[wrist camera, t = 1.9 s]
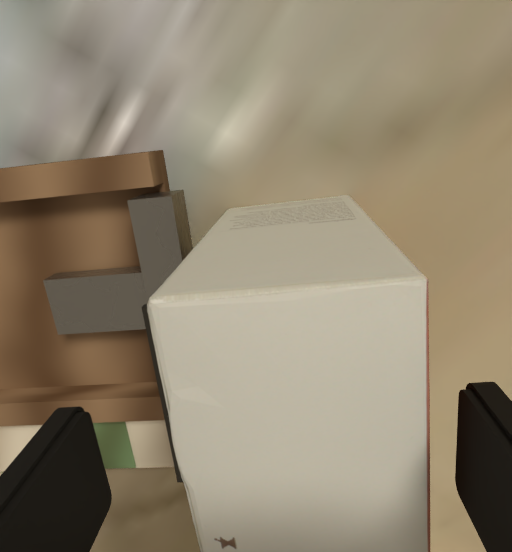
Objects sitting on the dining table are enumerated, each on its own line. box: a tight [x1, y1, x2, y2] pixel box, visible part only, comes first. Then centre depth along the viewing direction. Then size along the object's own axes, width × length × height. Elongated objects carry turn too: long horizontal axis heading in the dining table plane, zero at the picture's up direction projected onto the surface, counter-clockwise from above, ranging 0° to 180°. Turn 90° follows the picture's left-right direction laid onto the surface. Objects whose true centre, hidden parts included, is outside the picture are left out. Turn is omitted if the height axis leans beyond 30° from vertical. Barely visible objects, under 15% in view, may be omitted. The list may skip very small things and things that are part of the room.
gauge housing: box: [0, 150, 174, 471], centre depth 21 cm, size 16×18×9 cm
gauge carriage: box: [43, 190, 193, 482], centre depth 22 cm, size 8×16×2 cm, turn 6°
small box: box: [147, 195, 430, 552], centre depth 16 cm, size 8×6×13 cm
